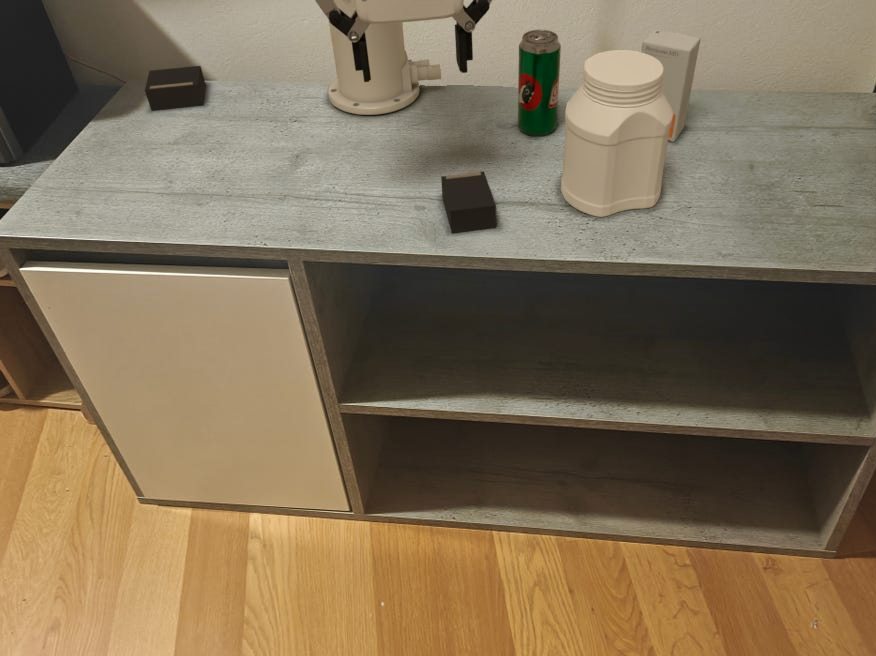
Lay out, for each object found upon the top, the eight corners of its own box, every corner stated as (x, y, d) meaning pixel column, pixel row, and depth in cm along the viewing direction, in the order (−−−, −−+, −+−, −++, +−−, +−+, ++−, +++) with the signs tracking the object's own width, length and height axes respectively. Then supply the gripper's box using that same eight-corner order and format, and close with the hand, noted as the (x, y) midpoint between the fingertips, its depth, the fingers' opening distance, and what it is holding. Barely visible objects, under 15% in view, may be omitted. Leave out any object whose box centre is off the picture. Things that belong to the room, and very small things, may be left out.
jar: (638, 161, 98) (654, 40, 88) (673, 203, 92) (695, 78, 81) (549, 177, 96) (555, 55, 86) (579, 222, 90) (589, 96, 79)
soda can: (557, 137, 103) (562, 45, 94) (517, 138, 103) (519, 46, 95) (555, 118, 106) (560, 27, 98) (517, 118, 107) (518, 28, 98)
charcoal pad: (206, 85, 115) (200, 64, 113) (203, 105, 111) (197, 84, 109) (155, 90, 114) (149, 69, 112) (151, 110, 110) (144, 89, 108)
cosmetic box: (629, 133, 103) (640, 41, 95) (640, 118, 106) (652, 27, 98) (675, 143, 101) (690, 50, 93) (685, 128, 104) (701, 36, 95)
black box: (484, 193, 94) (484, 170, 92) (496, 227, 89) (495, 204, 87) (442, 198, 94) (440, 175, 92) (451, 233, 89) (450, 210, 87)
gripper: (295, -103, 66) (329, 96, 77) (504, -118, 67) (505, 79, 79) (297, -125, 71) (327, 64, 83) (489, -139, 73) (493, 49, 84)
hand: (414, 71), depth 81 cm, fingers open, 9 cm apart
